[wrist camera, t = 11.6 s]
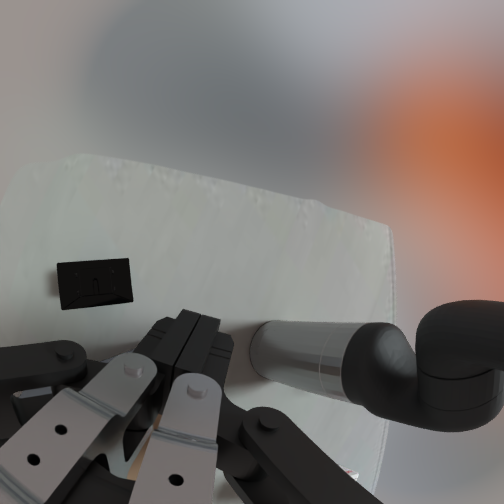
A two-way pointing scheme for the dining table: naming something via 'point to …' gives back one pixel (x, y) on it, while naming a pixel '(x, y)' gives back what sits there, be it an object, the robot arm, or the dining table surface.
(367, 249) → the dining table surface
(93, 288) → the black rectangular block
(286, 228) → the dining table surface
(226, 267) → the dining table surface
